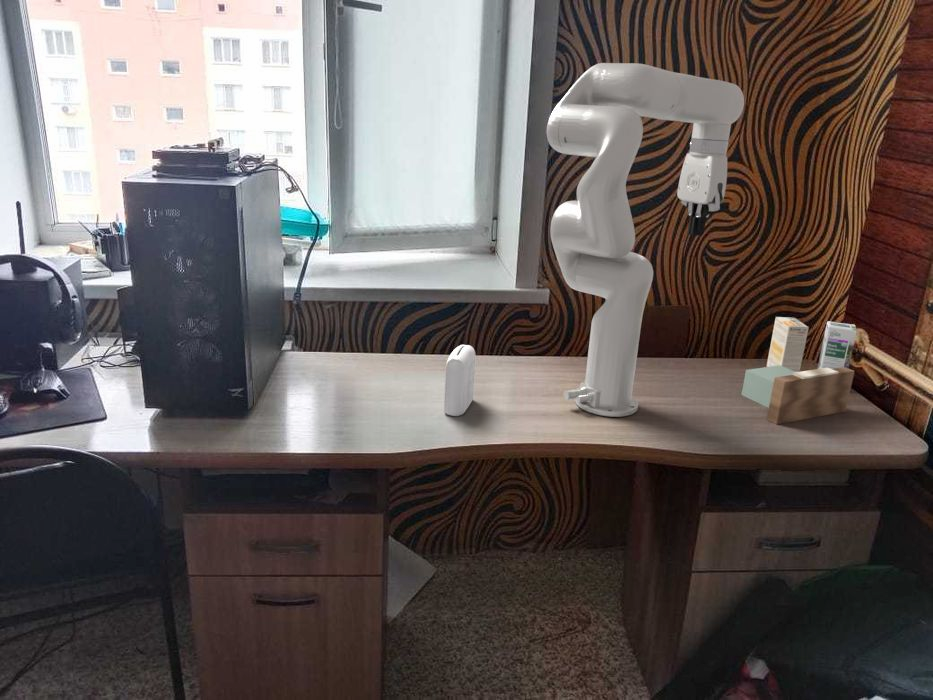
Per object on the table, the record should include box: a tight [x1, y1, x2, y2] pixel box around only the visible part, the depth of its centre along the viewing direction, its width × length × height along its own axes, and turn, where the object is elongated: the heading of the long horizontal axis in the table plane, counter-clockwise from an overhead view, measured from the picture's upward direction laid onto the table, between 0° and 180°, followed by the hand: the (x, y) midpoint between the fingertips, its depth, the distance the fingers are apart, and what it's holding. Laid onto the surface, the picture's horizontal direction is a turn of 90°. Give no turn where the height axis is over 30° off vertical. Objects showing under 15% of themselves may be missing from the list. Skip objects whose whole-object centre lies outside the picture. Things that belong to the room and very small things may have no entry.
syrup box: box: [816, 320, 857, 369], centre depth 168 cm, size 6×6×14 cm
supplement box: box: [766, 316, 810, 372], centre depth 173 cm, size 8×5×13 cm, turn 179°
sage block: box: [741, 365, 795, 409], centre depth 158 cm, size 10×12×6 cm
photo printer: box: [443, 344, 477, 417], centre depth 145 cm, size 10×4×12 cm, turn 166°
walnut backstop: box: [766, 367, 855, 425], centre depth 151 cm, size 20×3×9 cm, turn 116°
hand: (695, 234), depth 163 cm, fingers closed
